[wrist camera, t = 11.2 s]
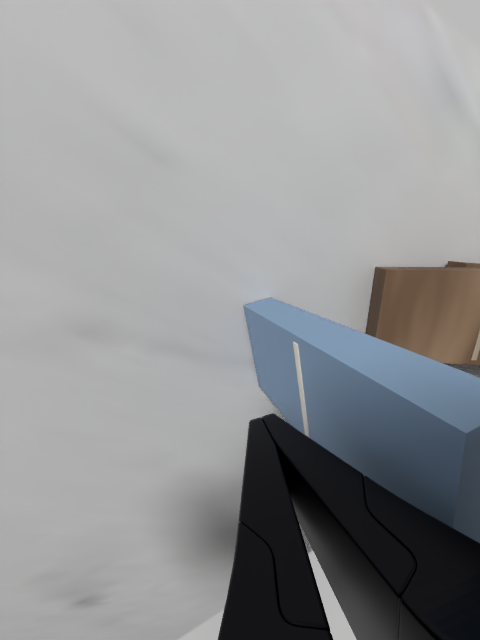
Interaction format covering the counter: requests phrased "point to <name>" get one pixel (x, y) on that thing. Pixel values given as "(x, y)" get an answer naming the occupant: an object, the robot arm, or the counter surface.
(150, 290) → the counter surface
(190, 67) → the counter surface
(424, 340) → the domino
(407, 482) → the blue domino
